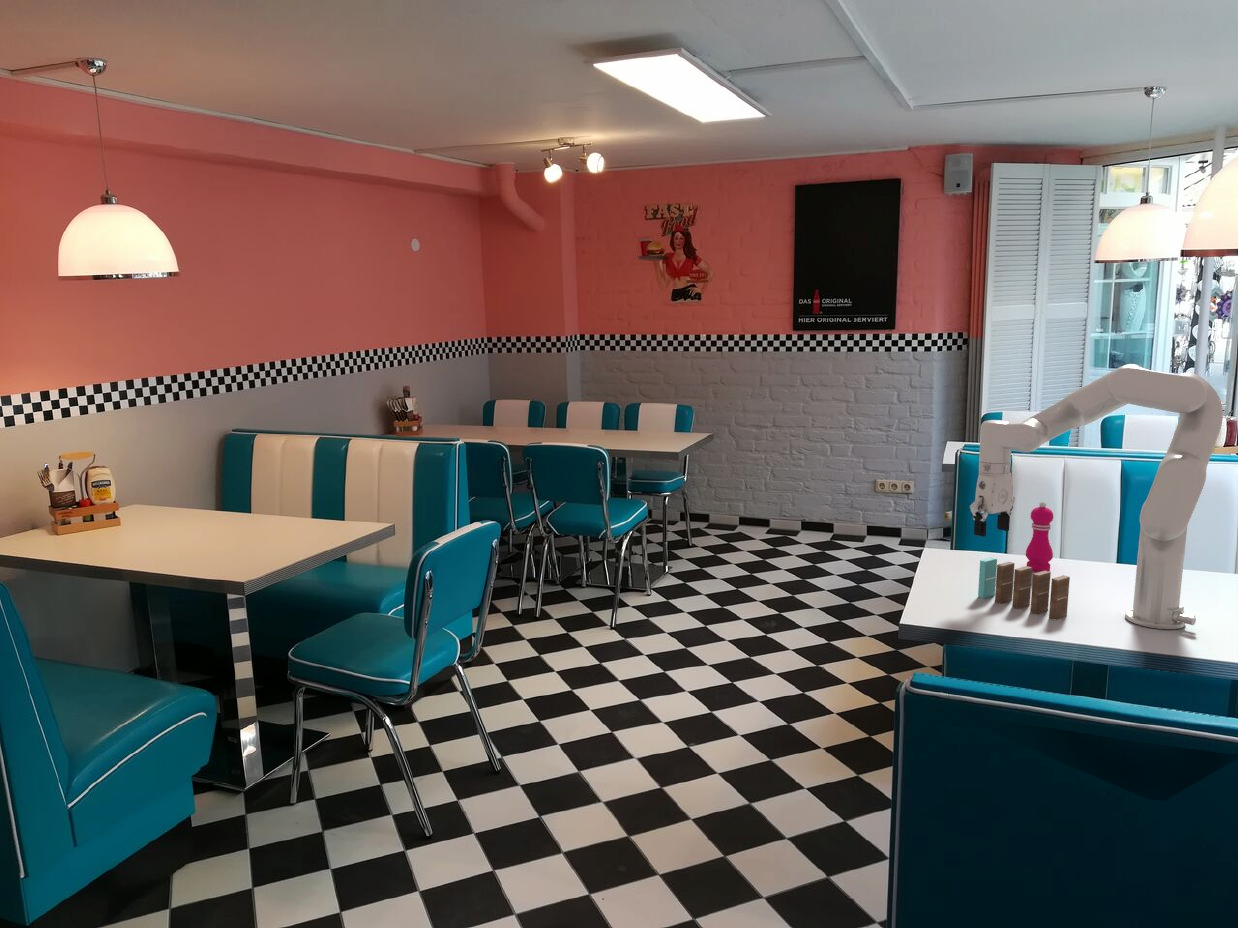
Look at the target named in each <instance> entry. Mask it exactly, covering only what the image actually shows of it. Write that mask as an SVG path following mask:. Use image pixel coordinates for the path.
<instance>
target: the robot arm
mask: <svg viewBox="0 0 1238 928" xmlns="http://www.w3.org/2000/svg"><path fill="white" fill-rule="evenodd" d="M1126 405H1132V406H1137V407H1143V408H1149V409H1154V410H1159V411H1164V412H1165V411H1166V412H1170V413H1176V414H1178V416H1179V418H1178V422H1177V425H1176V427H1175V430H1174V433H1173V437H1172V439H1171V441H1170V444H1169V446H1168V449H1167V450H1166V453H1165V455H1164V456H1163V459H1162V460H1161V461H1160V463H1159V465H1158V468H1157V471H1156V474H1155V476H1154V479H1153V482H1152V485H1151V487H1150V489H1149V493H1148V494H1147V498H1146V500H1145V501H1144V503H1143V504H1142V506H1141V510H1140V514H1139V524H1140V530H1139V539H1138V551H1137V558H1136V559H1137V561H1136V569H1135V570H1136V571H1135V583H1134V592H1133V593H1134V594H1133V604H1132V608H1130V609H1128V610H1127V609H1126V611H1125V614H1124V617H1125V618H1126V620H1128V622H1131V623H1133V624H1136V625H1138V626H1143V627H1146V628H1151V629H1158V630H1178V629H1182V628H1184V627H1185V626H1186V625H1190V626H1195V625H1196V621H1197V619H1196V615H1195V614H1191V613H1186V612H1185V610H1184V608H1185V607H1184V605H1180V602H1181V593H1182V584H1183V580H1182V579H1183V572H1184V562H1185V553H1186V542H1187V534H1188V524H1189V523H1190V520H1191V518H1192V515H1193V513H1194V511H1195V509H1196V506H1197V503H1198V502H1199V499H1200V497H1201V494H1202V491H1203V489H1204V487H1205V483H1206V480H1207V467H1208V465H1209V462H1210V459H1211V457H1212V455H1213V452H1214V449H1215V447H1216V443H1217V440H1218V438H1219V435H1220V433H1221V429H1222V426H1223V425H1222V424H1223V417H1224V411H1223V410H1224V409H1223V404H1222V401H1221V399H1220V396H1219V394H1218V392H1217V391H1216V390H1215V388H1214V387H1213V386H1212V385H1211V384H1210V383H1209V382H1208V381H1207V380H1206V379H1205V378H1203V377H1201V376H1200V375H1198V374H1196V373H1193V372H1182V373H1178V374H1176V373H1171V372H1163V371H1158V370H1150V369H1147V368H1145V367H1143V366H1141V365H1139V364H1134V363H1129V364H1128V363H1127V364H1124V365H1121V366H1120V367H1117V368H1116V369H1114V370H1112V371H1110V372H1109V373H1108V372H1107V374H1104V375H1102V376H1101V377H1099V378H1098V379H1095V380H1093V381H1092V382H1090V383H1087V385H1084V386H1083V387H1081V388H1078V389H1077V390H1075V391H1073V392H1071V393H1069V394H1067V395H1066V396H1065V397H1064V398H1063V399H1061V400H1060V401H1058V402H1056V403H1054V404H1052V405H1051V406H1049V407H1047V408H1045V409H1043V410H1041V411H1040V412H1038V413H1036V414H1034V415H1033V416H1032V415H1031V416H1030V417H1029V418H1027V419H1024V420H1023V421H1021V422H1017V423H1016V422H1015V423H1011V422H1009V421H1007V420H1001V419H1000V420H999V419H997V420H996V419H990V420H984V421H983V422H982V423H981V425H980V435H979V436H980V437H979V438H980V439H979V459H978V463H979V464H978V477H977V482H976V488H975V499H974V501H973V502H972V503H971V504H970V505H969V509H970V513H971V516H972V519H973V522H974V524H973V534H974V535H975V536H978V537H983V538H984V537H986V535H987V521H986V519H987V518H988V515H989V514H991V515H993V514H997V522H996V528H997V530H999V531H1004V532H1009V531H1010V516H1012V510H1013V509H1014V503H1015V501H1016V498H1015V496H1014V487H1013V477H1012V473H1011V461H1012V460H1011V459H1012V451H1015V452H1020V453H1031V452H1034V451H1036V450H1038V449H1039V448H1040V447H1041V446H1042V445H1044V444H1046V443H1047V442H1049V441H1051V440H1053V439H1055V438H1056V437H1057V438H1058V436H1061V435H1062V434H1065V433H1066V432H1068V431H1071V430H1072V429H1075V428H1078V427H1083V426H1087V425H1089V424H1091V423H1093V422H1096V421H1098V420H1099V419H1102V417H1105V416H1107V415H1108V414H1111V413H1112V412H1114V411H1116V410H1118V409H1120V408H1122V407H1124V406H1126Z"/></svg>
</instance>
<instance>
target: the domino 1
mask: <svg viewBox="0 0 1238 928" xmlns="http://www.w3.org/2000/svg"><path fill="white" fill-rule="evenodd" d="M997 565H998V558H996V557H993V556H992V557H989V558H985V559H980V560H979V573H978V590H977V598H981V599H983V598H984V599H986V598H990V597H993V596H994V597H995V592H996V576H997Z"/></svg>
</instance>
